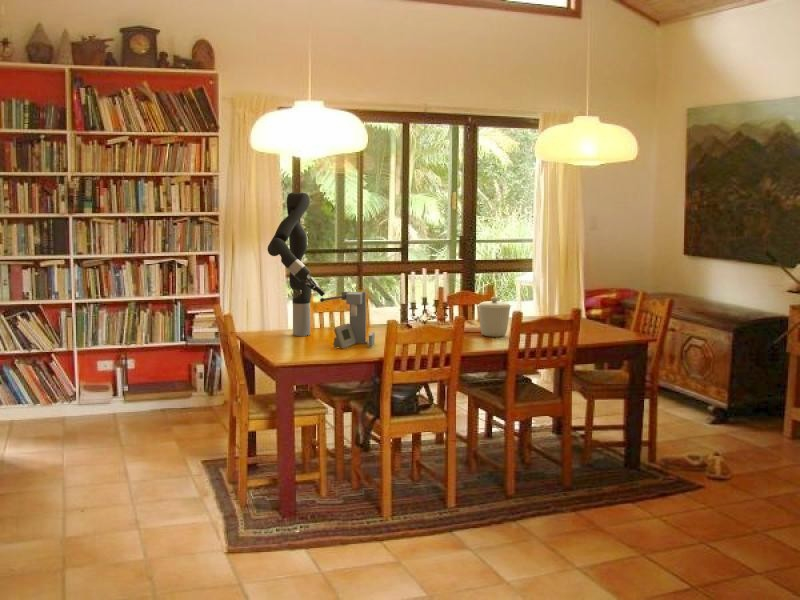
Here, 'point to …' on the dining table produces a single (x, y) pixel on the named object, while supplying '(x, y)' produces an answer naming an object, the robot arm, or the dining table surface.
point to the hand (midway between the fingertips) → (323, 294)
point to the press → (358, 316)
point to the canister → (494, 317)
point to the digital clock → (344, 336)
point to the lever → (333, 298)
